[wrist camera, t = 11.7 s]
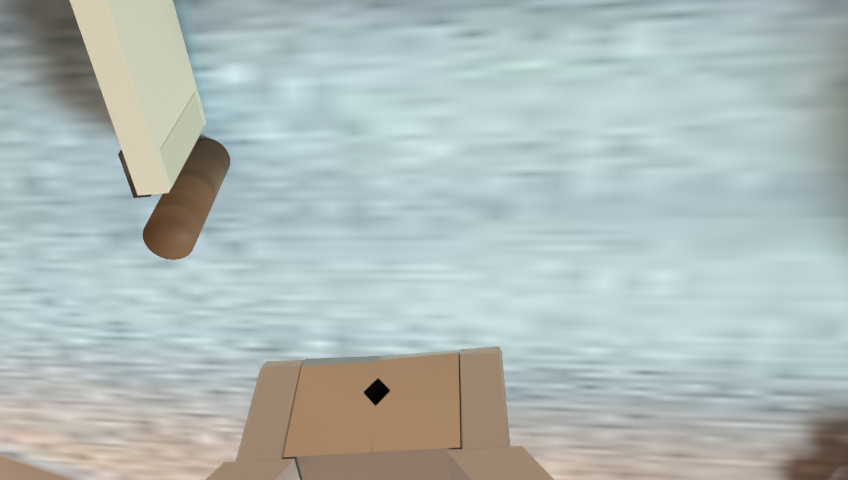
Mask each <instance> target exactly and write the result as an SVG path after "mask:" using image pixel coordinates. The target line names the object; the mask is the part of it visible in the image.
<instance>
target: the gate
mask: <svg viewBox="0 0 848 480" xmlns="http://www.w3.org/2000/svg"><path fill="white" fill-rule="evenodd" d="M70 3H71V6H72V8H73V11H74V14H75V17H76V20H77V23H78V26H79V29H80V31H81V34H82V37H83V40H84V43H85V46H86V49H87V52H88V54H89V57H90V60H91V63H92V66H93V69H94V72H95V74H96V77H97V80H98V83H99V86H100V89H101V92H102V95H103V97H104V100H105V103H106V106H107V109H108V112H109V115H110V118H111V120H112V123H113V126H114V129H115V132H116V135H117V138H118V140H119V143H120V146H121V149H122V152H123V155H124V158H125V161H126V163H127V166H128V169H129V172H130V175H131V178H132V181H133V184H134V186H135V189H136V192H137V195H151V194H164V193H169V191H170V189H171V188H172V186H173V184H174V183H175V181H176V179H177V177H178V175H179V173H180V171H181V169H182V168H183V166H184V164H185V162H186V160H187V158H188V156H189V154H190V153H191V151H192V149H193V147H194V145H195V143H196V141H197V139H198V138H199V136H200V134H201V132H202V130H203V128H204V126H205V124H206V119H205V116H204V112H203V108H202V105H201V101H200V97H199V94H198V90H197V87H196V83H195V79H194V76H193V72H192V68H191V65H190V61H189V58H188V54H187V50H186V47H185V43H184V39H183V36H182V32H181V29H180V25H179V21H178V18H177V14H176V11H175V7H174V3H173V0H70Z"/></svg>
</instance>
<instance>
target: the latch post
mask: <svg viewBox="0 0 848 480" xmlns="http://www.w3.org/2000/svg"><path fill="white" fill-rule="evenodd" d="M118 155H119V158H120V160H121V163H122V166H123V169H124V172H125V175H126V177H127V180H128V183H129V186H130V189H131V191H132V194H133V197H134V198H137V197H150V196H151V195H152V194H151V195H137V192H136V189H135V186H134V184H133V181H132V178H131V175H130V172H129V169H128V166H127V163H126V161H125V158H124V155H123V152H122V149H121V151H120V152H119V154H118ZM229 165H230V157H229V154H228V152H227V151H226V149H225V148H224V147H223V146H222V145H221V144H219V143H218V142H216V141H213V140H209V139H200V140H197V141H196V143H195V145H194V147H193V149H192V151H191V153H190V154H189V156H188V158H187V160H186V162H185V164H184V166H183V168H182V169H181V171H180V173H179V175H178V177H177V179H176V181H175V183H174V184H173V186H172V188H171V189H170V191H169V193H164V194H163V195H162V196H161V198H160V200H159V202H158V204H157V206H156V207H155V209H154V211H153V213H152V215H151V217H150V218H149V220H148V222H147V224H146V226H145V228H144V230H143V239H144V242H145V244H146V246H147V247H148V248H149V249H150V250H151V251H152V252H153V253H154V254H156V255H158V256H160V257H162V258H165V259H171V260H176V259H181V258H184V257H186V256H188V255H189V254H190V253H191V252H192V250H193V248H194V246H195V243H196V241H197V239H198V237H199V234H200V232H201V230H202V227H203V225H204V223H205V221H206V218H207V216H208V214H209V211H210V209H211V207H212V205H213V202H214V200H215V198H216V195H217V193H218V191H219V189H220V186H221V184H222V182H223V179H224V177H225V175H226V173H227V170H228V168H229Z"/></svg>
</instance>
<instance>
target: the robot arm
mask: <svg viewBox="0 0 848 480" xmlns="http://www.w3.org/2000/svg"><path fill="white" fill-rule="evenodd" d="M206 480H554V479H553V478H552V477H551V476H550V475H549V474H548V473H547V471H546V470H545V469H544V468H543V467H542V466H541V465H540V464H539V463H538V462H537V461H536V460H535V459H534V458H533V457H532V456H531V455H530V454H529V453H528V452H527V450H526V449H525V448H524V447H523V446H514V447H510V439H509V428H508V417H507V405H506V394H505V383H504V372H503V361H502V351H501V350H500V348H499V347H487V348H475V349H462V350H460V351H459V350H456V351H442V352H428V353H414V354H400V355H386V356H369V357H344V358H319V359H305V360H290V361H266V363H265V364H264V365H263V367H262V368H261V370H260V372H259V376H258V379H257V383H256V387H255V391H254V394H253V398H252V402H251V406H250V409H249V413H248V417H247V421H246V424H245V428H244V432H243V436H242V439H241V443H240V447H239V451H238V454H237V458H236V462H224V463H223V464H222V465H221V466H220V467H219V468H217V469H216V470H215V471H214V472H213V473H212V474H211V475H210V476H209V477H208V478H207V479H206Z"/></svg>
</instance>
